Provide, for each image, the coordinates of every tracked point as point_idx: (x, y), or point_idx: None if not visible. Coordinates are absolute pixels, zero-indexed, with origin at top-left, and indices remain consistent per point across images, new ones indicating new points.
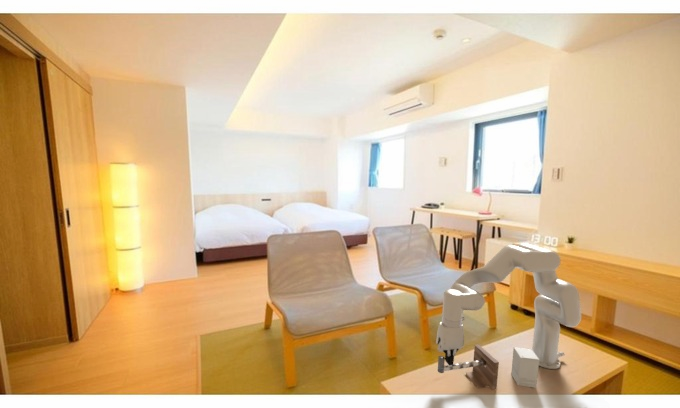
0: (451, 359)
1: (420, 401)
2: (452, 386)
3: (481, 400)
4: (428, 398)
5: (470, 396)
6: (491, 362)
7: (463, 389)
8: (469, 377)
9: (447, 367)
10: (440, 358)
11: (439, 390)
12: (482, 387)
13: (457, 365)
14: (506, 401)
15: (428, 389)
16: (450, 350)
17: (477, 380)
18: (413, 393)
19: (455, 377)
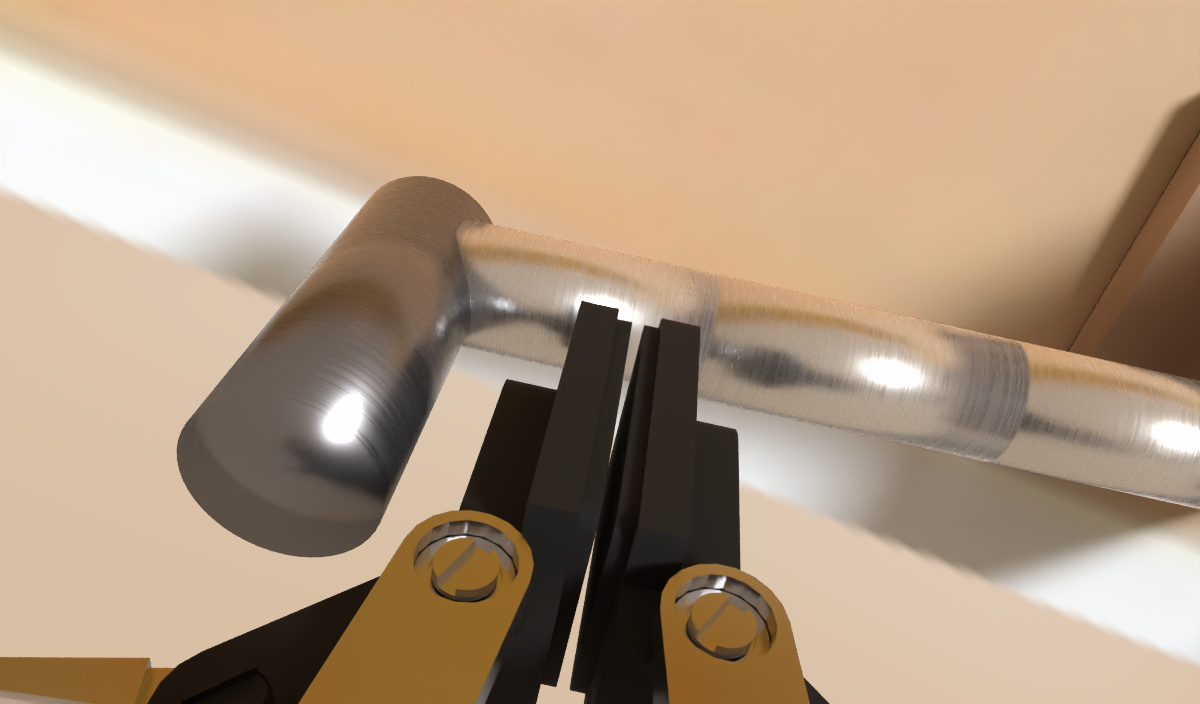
0: (586, 591)
1: (75, 203)
2: (722, 189)
3: (868, 506)
4: (210, 210)
5: None
6: None
7: None
8: (1180, 195)
9: (551, 365)
10: (220, 494)
11: (457, 164)
12: None
13: (842, 427)
14: (1127, 623)
15: (294, 73)
16: (656, 685)
17: (1198, 325)
18: (14, 39)
19: (972, 47)
